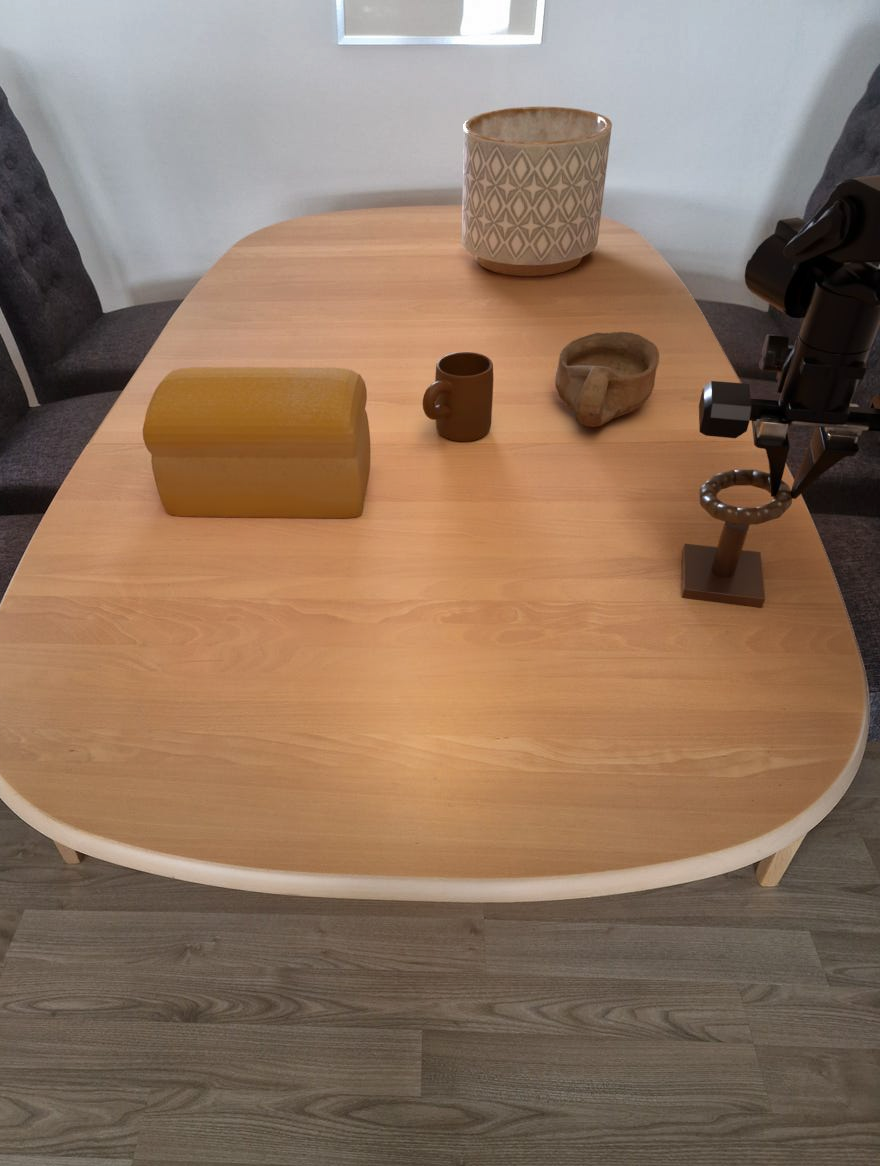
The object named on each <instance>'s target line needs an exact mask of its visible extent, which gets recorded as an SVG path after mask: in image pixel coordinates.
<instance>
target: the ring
mask: <svg viewBox="0 0 880 1166" xmlns="http://www.w3.org/2000/svg"><path fill="white" fill-rule="evenodd" d="M740 486H741V487H742V486H743V487H746V486H747V487H749V486H750V487H755V488H757V489H761V490H765V491H766V492H768V493H769V494H770V495H771V493H770V476H769V472H767V471H766V472H765V471H761V470H758V469H731V470H727V471H724V472H721V473H717V474H715V475H713V476H711V477H710V478H709V479H708V480H707V481H706V482H704V483H703V484H702V485H701V487H700V489H699V505H700V506H701V508H702V509H703V510H704V511H705V512H706V513H707V514H708V515H710V516H711V518H713V519H716V520H719V521H722V522H728V523H731V524H737V525H749V526H750V525H753V526H754V525H761V524H764V523H765V524H766V523H767V522H771V521H774V520H777V519H779V518H780V517H782V515H783V514H784V513H785V512H787V510H788V509H789V508H790V507H791V506H792V504H793V499H792V496H791V489H792V488H791V487H790V485H789V484H788V483H787V482H785V481H784V480H783V479H782V480H781V485H780V488H779V490H778V492H777V494H776V496H775V497H772V498H773V499H771V501H770V502H769V503H767V504H763V505H760V506H756V507H737V506H734V505H731V504H728V503H724V502H723V501H721V500H720V499H719V498H718V494H719V493H720V492H721V491H722V490H724V489H729V488H731V487H740Z"/></svg>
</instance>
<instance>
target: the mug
mask: <svg viewBox="0 0 880 1166" xmlns="http://www.w3.org/2000/svg"><path fill="white" fill-rule="evenodd" d="M493 398H494V364H493V361H492V360H491V358H489V357H488V356H487V355H484V354H482V353H478V352H474V351H456V352H452V353H448V354H446V355H444V356H442V357H440V358H439V359H438V360H437V362H436V364H435V377H434V382H432V383H431V384H430V385H429V386H428V387H427V388H426V389H425V392H424V394H423V398H422V410H423V413H424V415H425V416H426V417H427V418H429V419H430V420H431V421H432V420H433V421H435V427H436V430H437V432H438V434H439V435H441V436H442V438H445V439H447V440H450V441H453V442H454V441H455V442H463V443H464V442H473V441H477V440H479V439H481V438H483V437H485V436H486V435H487V434H488V433H489V432H490V429H491V426H492V417H493V415H492V414H493V400H494V399H493Z"/></svg>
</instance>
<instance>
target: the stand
mask: <svg viewBox="0 0 880 1166" xmlns="http://www.w3.org/2000/svg"><path fill="white" fill-rule="evenodd" d="M723 522H724V523H723V527H722V530H721V533H720V537H719V540H718V544H717V546H711V545H710V546H709V545H701V544H692V543H684V544H683V548H682V552H681V554H682V555H681V558H682V559H681V565H682V566H681V597H682V598H683V599H691V600H699V601H705V602H706V601H707V602H714V603H720V604H721V603H723V604H730V605H737V606H745V607H746V606H747V607H753V608H760V609H762V608H763V607H764V603H765V600H766V594H765V584H764V575H763V563H762V555H761V552H760V551H753V550H745V549H743V548H744V545H745V541H746V539H747V535H748V532H749V529H750V525H737V524H731V523H728V522H725V521H723Z"/></svg>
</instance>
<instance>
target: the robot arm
mask: <svg viewBox="0 0 880 1166" xmlns="http://www.w3.org/2000/svg"><path fill="white" fill-rule="evenodd" d="M872 263H880V174H876V175H868V176H861V177H860V176H859V177H855V178H854V177H853V178H845V179H843V180H840V181H839V182H837V184H836V185H835V187H834V189H833V190H832V191H831V192H830V195H829V196H828V198H827V200H826V202H825V203H824V204H823V205H822V206H821V207H820V209H819V210H818V211H816V213H815V214H814V215H813V216H812V217H811V218H810V219H809V220H808V222H807V221H806V220H804V219H802V218H800V217H798V216H797V217H791V218H790V217H789V218H783V219H779V220H778V221H777V222H776V224H775V229H774V233H773V234H771V235H770V236H769V237H767V238H766V239H764V240H763V241H761V243H760V244H759V245H758V246H757V248H755V250H754V252H753V253H752V256H750V259H748V260H747V262H746V265H745V269H744V282H745V285H746V287H747V290H749V291H750V292H751V293H752V294H754V295H755V296H756V297H758V298H760V299H761V300H763V302H764V301H765V302H766V303H768V304H769V305H771V306H772V307H774V308H775V309H777V310H778V311H780V312H782V313H783V314H785V315H786V316H788V317H790V318H792V319H803V321H802V324H801V327H800V330H799V334H798V335H797V337H796V339H795V342H794V345H790V337H789V336H787V335H784V334H770V333H769V334H768V333H767V334H766V335H765V339H764V343H763V345H762V349H761V353H760V357H759V362H758V368H759V369H760V370H761V371H763V372H774V373H775V372H776V373H777V374H776V378H775V380H777V381H776V384H775V390H776V394H780V397H779V400H776V399H764V398H763V399H761V398H752V397H751V396H752V395H751V389H750V388H751V387H750V383H744V382H731V381H719V380H718V381H717V380H710V381H709V382H708V383H707V384H706V385H704V386H703V388H702V390H701V394H700V400H699V404H698V429H699V433H700V434H702V435H703V436H705V437H714V438H715V437H716V438H717V437H718V438H726V439H737V438H739V437H740V436H742V435H743V434H745V433H747V431H748V428H749V424H750V421H751V428H752V429H751V430H752V437H753V438H752V439H753V446H754V447H756V448H758V449H763V450H765V452H766V456H767V461H768V473H769V476H770V493H771V494H770V493H769V494H770V497H771V498H773V497H775V496H776V494H777V492H778V490H779V488H780V485H781V480H782V481H783V475H784V472H785V468H786V464H787V461H788V456H789V452H790V447H791V446H790V439H789V433H788V431H789V429H790V427H791V425H797V426H806V427H814V430H813V434H812V438H811V441H810V442H809V445H808V447H807V449H806V452H805V454H804V457H803V459H802V461H801V463H800V466H799V468H798V470H797V472H796V475H795V477H794V479H793V483H792V485H791V488H790V489H791V496H792V500H796V499H797V498H798V497H800V495H801V494H803V493H804V492H805V491H806V490H807V489H808V488H809V487H810V486H811V485H812V484H813V483H814V482H815V481H816V480H817V479H819V478H820V477H821V476H822V475H823V474H824V473H826V472H827V471H828V470H830V469H832V468H833V467H834V466H835V465H836V464H837V463H840V461H842V460H843V459H845V458H847V457H857V456H858V454H859V452H860V447H859V442H858V439H859V436H860V437H861V435H862V433H863V431H864V432H865V431H867V432H878V433H880V393H876V394H875V395H874V396H872V397H871V400H870V402H869V405H868V407H864V406H859V405H858V404H857V403H852V400H853V398H854V396H855V392H856V390H857V387H858V384H859V382H860V381H861V380H862V381H863V379H864V377H865V374H866V371H867V369H868V368H867V365H866V363H867V360H868V357H869V354H870V352H871V349H872V346H873V343H874V341H875V338H876V335H877V333H878V330H879V327H880V267H878V266H876V265H874V264H872ZM877 442H878V444H879V445H880V434H879V436H878V438H877Z"/></svg>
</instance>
